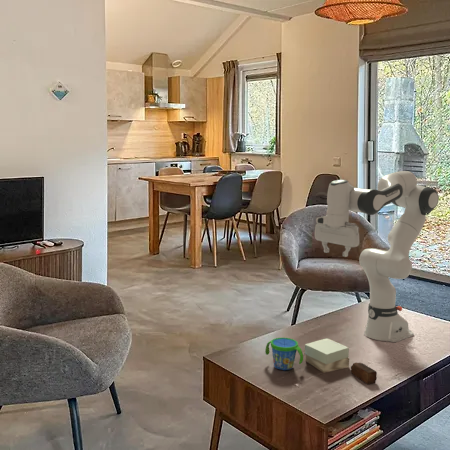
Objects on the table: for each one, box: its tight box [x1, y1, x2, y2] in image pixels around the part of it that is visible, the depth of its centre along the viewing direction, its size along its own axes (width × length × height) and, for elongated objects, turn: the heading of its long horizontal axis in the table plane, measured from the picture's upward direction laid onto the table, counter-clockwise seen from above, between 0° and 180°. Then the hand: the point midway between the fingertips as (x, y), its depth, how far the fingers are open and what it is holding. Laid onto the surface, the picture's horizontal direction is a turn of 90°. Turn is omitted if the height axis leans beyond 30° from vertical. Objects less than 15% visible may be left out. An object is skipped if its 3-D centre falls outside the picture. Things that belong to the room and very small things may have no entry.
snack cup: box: [265, 337, 304, 372], centre depth 214 cm, size 16×10×10 cm
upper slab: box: [304, 338, 350, 364], centre depth 217 cm, size 12×12×4 cm
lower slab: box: [305, 354, 350, 374], centre depth 218 cm, size 12×12×4 cm
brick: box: [350, 362, 378, 385], centre depth 205 cm, size 11×4×5 cm, turn 23°
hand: (335, 254), depth 223 cm, fingers open, 8 cm apart
